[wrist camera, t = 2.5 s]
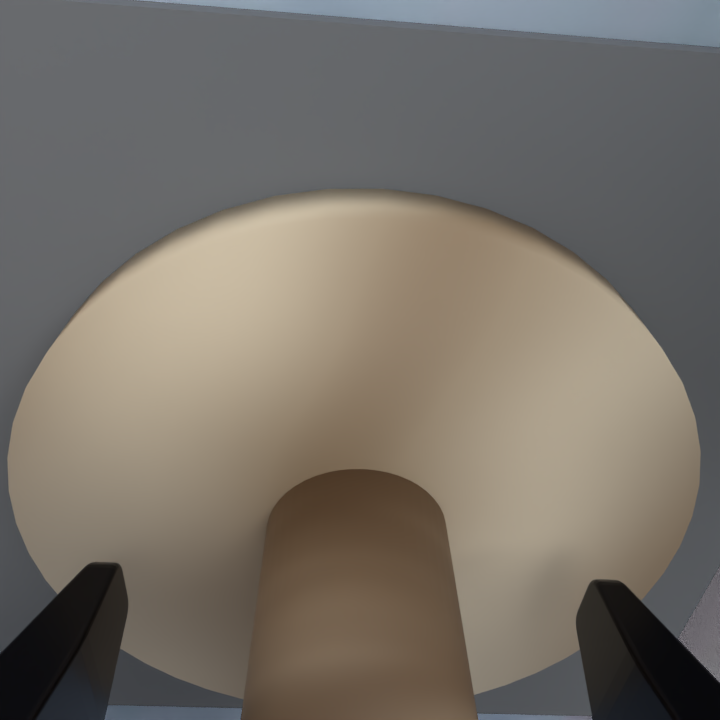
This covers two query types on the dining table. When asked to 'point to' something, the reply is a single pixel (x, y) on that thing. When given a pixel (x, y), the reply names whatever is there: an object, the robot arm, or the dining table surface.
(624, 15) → the dining table surface
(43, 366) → the lid
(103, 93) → the mat
